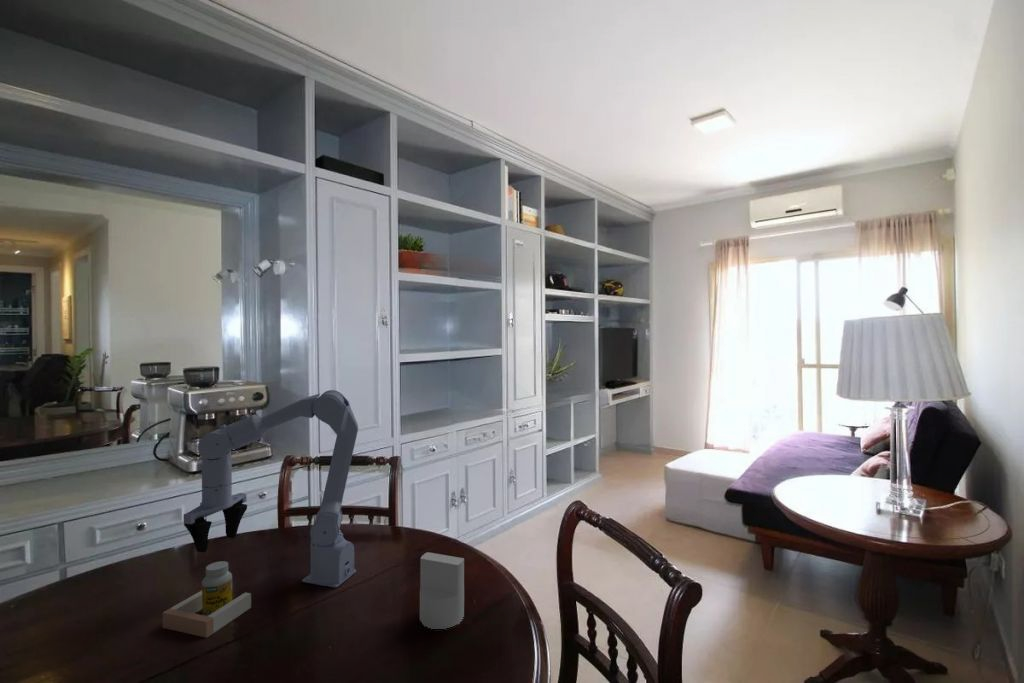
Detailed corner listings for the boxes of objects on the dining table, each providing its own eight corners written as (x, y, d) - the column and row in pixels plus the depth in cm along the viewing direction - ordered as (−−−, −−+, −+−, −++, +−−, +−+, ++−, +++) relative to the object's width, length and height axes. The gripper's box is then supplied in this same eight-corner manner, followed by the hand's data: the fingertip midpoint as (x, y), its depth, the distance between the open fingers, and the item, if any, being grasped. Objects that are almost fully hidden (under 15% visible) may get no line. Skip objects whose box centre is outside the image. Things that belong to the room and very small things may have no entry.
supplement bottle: (232, 601, 102) (232, 557, 102) (232, 614, 98) (232, 567, 98) (202, 608, 100) (203, 562, 100) (200, 621, 95) (200, 574, 95)
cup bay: (251, 607, 100) (251, 593, 100) (206, 637, 90) (206, 622, 90) (210, 599, 103) (210, 585, 103) (162, 627, 93) (162, 612, 93)
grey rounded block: (471, 609, 100) (471, 552, 100) (452, 634, 91) (452, 572, 91) (433, 601, 103) (433, 546, 103) (411, 624, 94) (411, 564, 94)
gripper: (230, 473, 115) (230, 529, 115) (172, 492, 101) (172, 555, 101) (253, 476, 113) (253, 532, 113) (198, 495, 99) (198, 560, 99)
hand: (216, 544), depth 107 cm, fingers open, 7 cm apart
